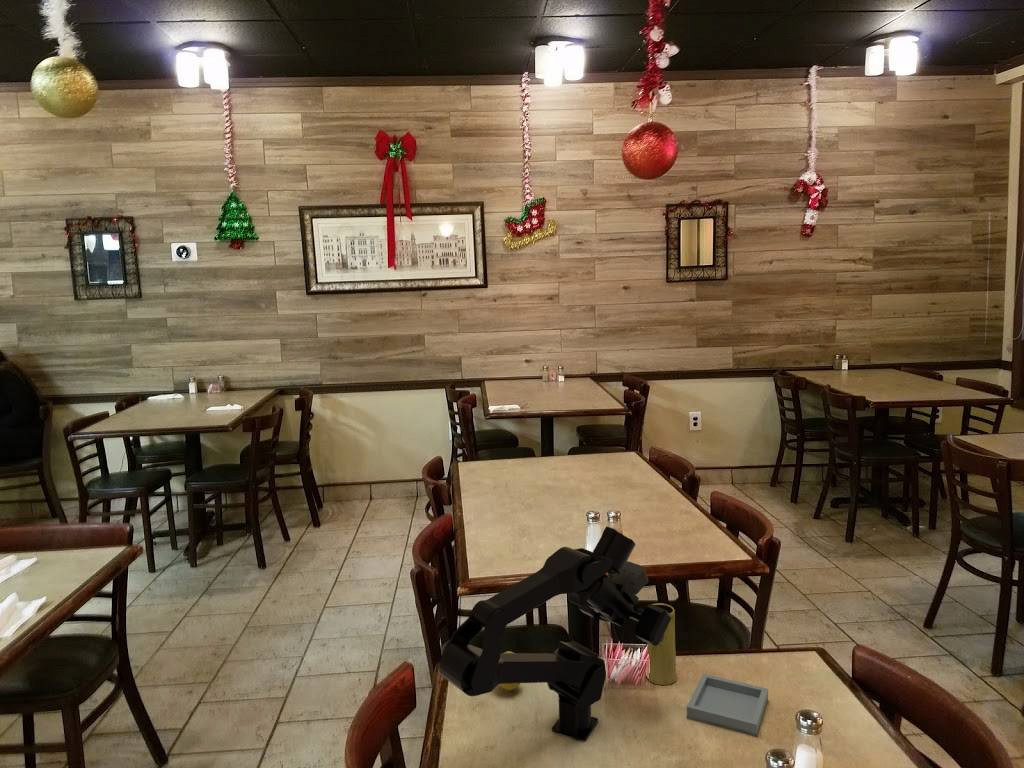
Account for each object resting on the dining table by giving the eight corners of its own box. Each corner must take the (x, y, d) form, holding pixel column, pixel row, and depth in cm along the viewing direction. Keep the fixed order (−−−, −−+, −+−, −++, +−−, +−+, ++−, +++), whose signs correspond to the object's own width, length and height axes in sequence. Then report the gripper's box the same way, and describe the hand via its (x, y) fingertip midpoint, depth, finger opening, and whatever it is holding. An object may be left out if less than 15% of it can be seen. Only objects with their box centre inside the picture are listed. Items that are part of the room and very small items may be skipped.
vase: (650, 666, 143) (649, 600, 141) (680, 672, 140) (680, 605, 138) (641, 681, 137) (641, 613, 135) (672, 688, 135) (672, 618, 133)
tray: (756, 736, 119) (756, 724, 119) (686, 718, 125) (686, 706, 125) (767, 699, 130) (768, 688, 130) (702, 684, 136) (703, 673, 135)
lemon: (507, 679, 140) (506, 641, 139) (529, 688, 136) (528, 650, 135) (489, 692, 135) (488, 653, 134) (511, 701, 132) (510, 662, 131)
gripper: (664, 569, 121) (702, 609, 129) (586, 541, 135) (625, 579, 144) (634, 627, 117) (675, 664, 126) (558, 592, 131) (599, 627, 140)
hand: (643, 630), depth 134 cm, fingers open, 9 cm apart
